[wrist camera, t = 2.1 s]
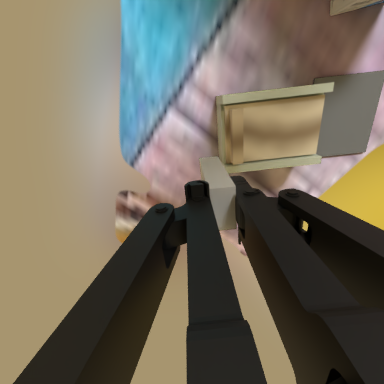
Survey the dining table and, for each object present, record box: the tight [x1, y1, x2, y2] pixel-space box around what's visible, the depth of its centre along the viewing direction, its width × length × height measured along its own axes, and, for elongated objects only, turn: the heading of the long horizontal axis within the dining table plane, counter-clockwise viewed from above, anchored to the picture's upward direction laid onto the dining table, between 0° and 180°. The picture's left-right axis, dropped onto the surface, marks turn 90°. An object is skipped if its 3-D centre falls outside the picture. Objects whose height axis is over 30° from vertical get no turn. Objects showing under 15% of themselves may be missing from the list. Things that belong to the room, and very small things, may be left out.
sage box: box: [216, 82, 334, 174], centre depth 34 cm, size 12×16×7 cm
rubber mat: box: [313, 70, 384, 157], centre depth 37 cm, size 14×12×1 cm
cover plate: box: [224, 95, 325, 165], centre depth 31 cm, size 9×15×4 cm, turn 96°
